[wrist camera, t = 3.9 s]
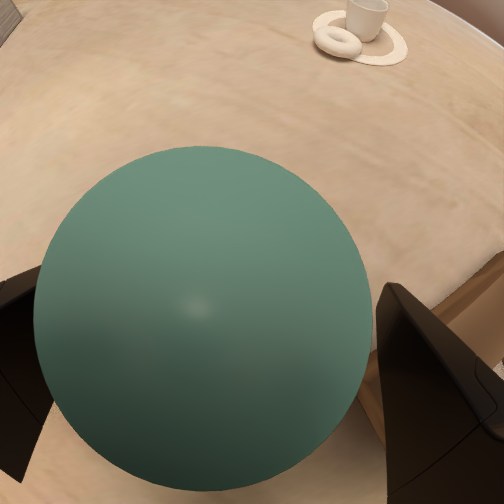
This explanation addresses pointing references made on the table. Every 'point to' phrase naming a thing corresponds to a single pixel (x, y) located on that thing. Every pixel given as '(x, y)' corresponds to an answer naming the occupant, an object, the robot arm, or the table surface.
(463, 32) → the table surface
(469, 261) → the table surface
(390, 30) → the teacup and saucer
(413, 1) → the table surface
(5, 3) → the medicine box
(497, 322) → the socket block
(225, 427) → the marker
